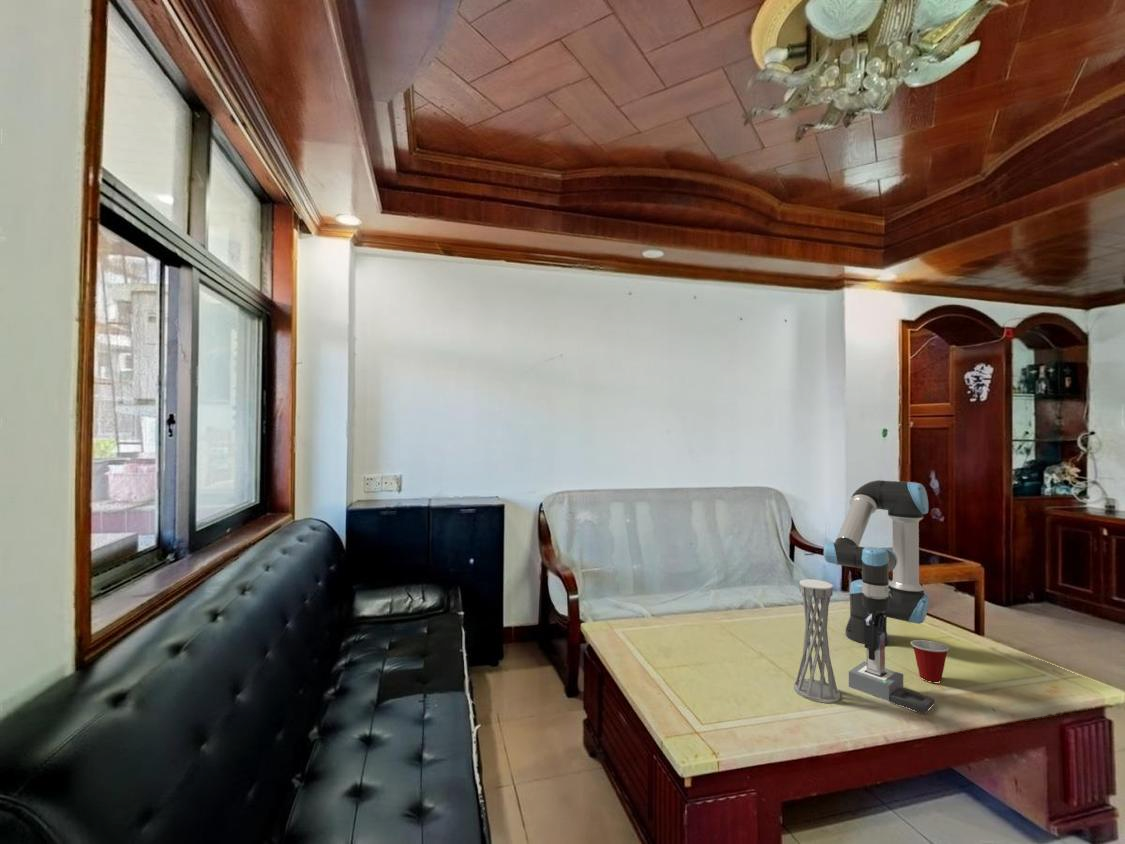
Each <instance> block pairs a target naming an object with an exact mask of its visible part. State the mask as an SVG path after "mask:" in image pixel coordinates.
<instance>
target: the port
mask: <svg viewBox="0 0 1125 844" xmlns="http://www.w3.org/2000/svg"><path fill="white" fill-rule="evenodd" d="M848 687H849V688H852V689H854V690H857V691H860V692H862V691H863V693H865V692H866V693H865V694H868V693H869V694H868V695H870V694H872V695H871V696H873V695H875V696H874V697H876V696H877V697H876V698H879V697H881V698H883V699H882V700H884V699H886V700H885V701H887V700H890V696H891V695H892V694H894V693H895V692H896V691H897V690H898V689H900V688H901V687H902V688H904V673H901V672H898V671H895V670H891V669H888V668H886V667H885V676H883V677H882V678H881V677H878V676H875V675H872V674H869V673H867V661H862V662H860V663H859V664H857V665H856V666H854V667H853V668H851V669H850V670H849V671H848ZM881 698H880V699H881Z"/></svg>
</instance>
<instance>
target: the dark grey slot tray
mask: <svg viewBox="0 0 1125 844" xmlns="http://www.w3.org/2000/svg"><path fill="white" fill-rule="evenodd" d="M890 702H893V703H895V704H894V705H896V704H898V705H901V706H904V707H907V708H910V709H912V710H915V711H917V712H920V713H922V714H921V715H923V714H925V713H926V712H927V711H928V709H929V708H930V707H931V706H932V705H933V704H934V705H935V698H934V697H931V696H927V695H925V694H922V693H918V692H917V691H913V690H910V689H908V688H905V687H903V688H902V687H901V688H900V689H898V690H897V691H896V692H895V693H894V694H892V695H891V696H890V701H889V703H890ZM893 703H892V704H893ZM898 705H897V706H898ZM901 706H900V707H901ZM904 707H903V708H904ZM912 710H911V711H912ZM917 712H916V713H917ZM928 712H929V711H928ZM928 712H927V713H928ZM920 713H919V714H920ZM927 713H926V714H927ZM926 714H925V715H926Z"/></svg>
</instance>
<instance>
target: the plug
mask: <svg viewBox="0 0 1125 844" xmlns="http://www.w3.org/2000/svg"><path fill="white" fill-rule="evenodd" d="M876 650H878V670H877V671H876V670H873V669H870V668H868V648H866V662H867V673H869V674H872V675H875V676H878V677H881V678H882V677H883V676H885V668H886V655H885V654H886V646H885V632H880V631H878V633H877V647H876Z"/></svg>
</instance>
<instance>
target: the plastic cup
mask: <svg viewBox="0 0 1125 844" xmlns="http://www.w3.org/2000/svg"><path fill="white" fill-rule="evenodd" d="M910 645H911V646H912V649H913V652H914V657H915V661H916V664H917V665H916V666H917V669H918V674H919V677H921V678H923V679H925V680H927V681H931V682H939V681H941V682H942V678H943V674H944V671H945V663H946V659H947V656H948V652H949V650H950V647H949V646H948V645H946V644H944V643H940V642H937V641H933V640H932V641H931V640H925V639H923V640H922V639H915V640H912V641H910ZM921 678H920V679H921Z"/></svg>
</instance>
